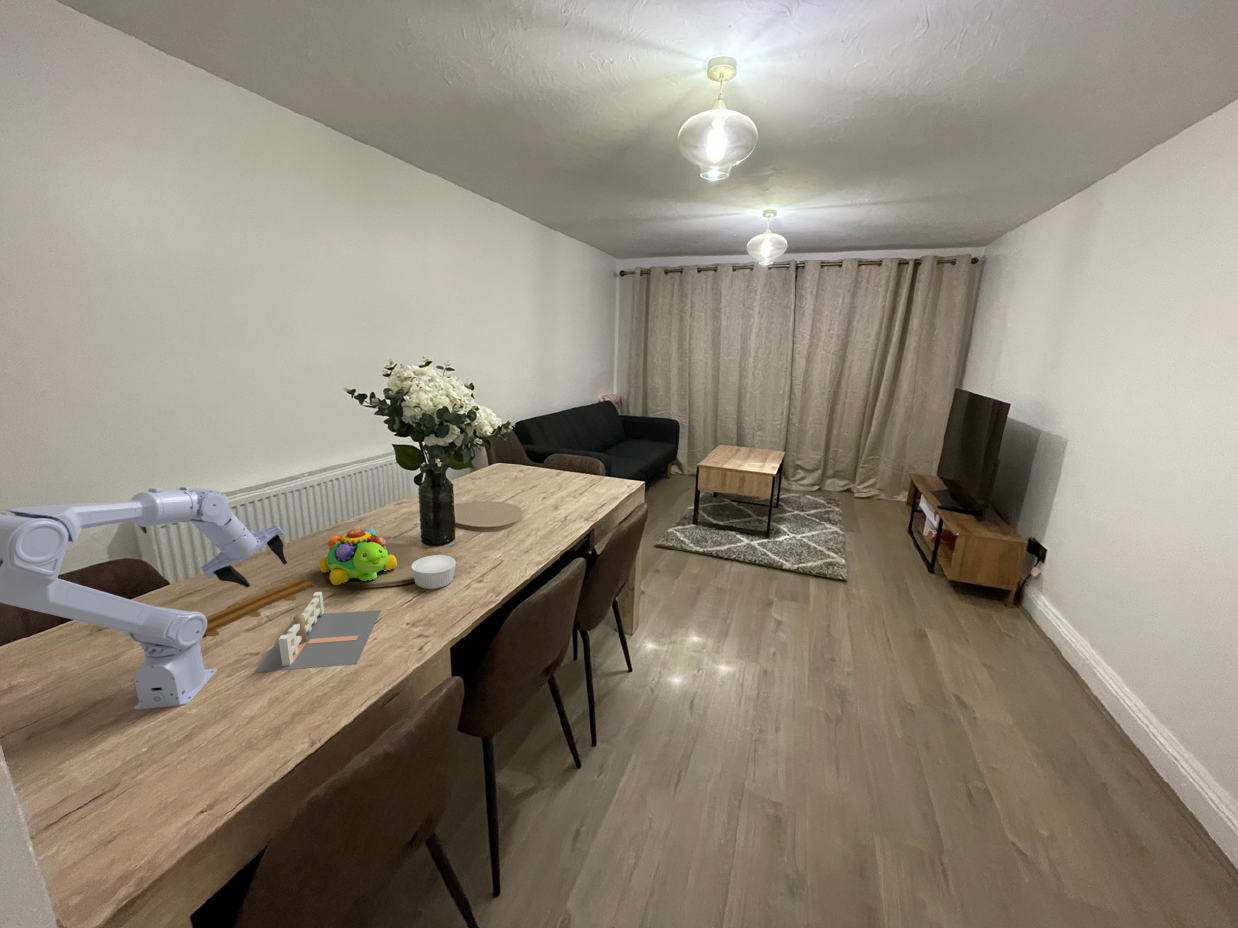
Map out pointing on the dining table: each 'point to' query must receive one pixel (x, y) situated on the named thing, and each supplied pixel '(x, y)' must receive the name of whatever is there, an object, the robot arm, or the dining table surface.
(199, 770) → the dining table surface
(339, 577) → the turtle toy
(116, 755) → the dining table surface
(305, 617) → the fence gate
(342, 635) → the card
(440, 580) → the ramekin
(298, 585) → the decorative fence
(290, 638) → the fence fixed
